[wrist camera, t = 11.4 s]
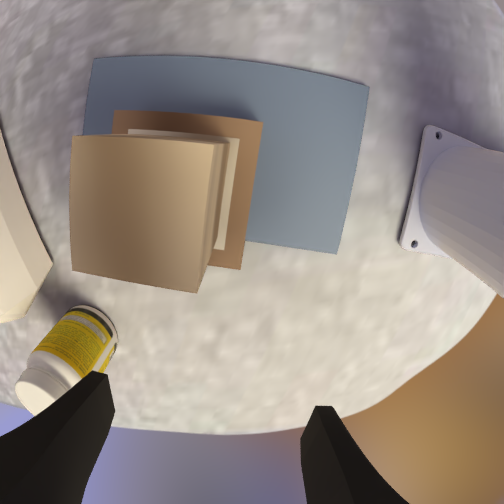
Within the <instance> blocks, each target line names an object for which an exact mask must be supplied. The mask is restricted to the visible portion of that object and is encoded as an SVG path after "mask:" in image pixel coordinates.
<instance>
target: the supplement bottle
mask: <svg viewBox="0 0 504 504" xmlns="http://www.w3.org/2000/svg"><path fill="white" fill-rule="evenodd" d="M117 345H118V337H117V333H116V331H115V328H114V326H113V325H112V323H111V322H110V320H109V319H108V318H107V317H106V316H105V315H104V314H103V313H101V312H100V311H98V310H97V309H95V308H92V307H89V306H84V305H80V306H75V307H73V308H71V309H70V310H69V311H68V312H67V313H66V314H65V315H64V316H63V317H62V318H61V319H60V320H59V322H58V323H57V324H56V325H55V326H54V327H53V329H52V330H51V331H50V332H49V333H48V334H47V335H46V337H45V338H44V339H43V340H42V341H41V342H40V344H39V345H38V346H37V347H36V348H35V349H34V351H33V352H32V353H31V354H30V356H29V358H28V361H27V369H26V370H25V371H23V373H22V375H21V376H20V378H19V379H18V381H17V382H16V385H15V391H16V394H17V396H18V398H19V400H20V401H21V403H22V404H23V405H24V406H25V407H26V408H27V410H28V411H30V412H31V413H32V414H33V415H34V416H36V415H37V414H39V413H40V412H41V411H43V410H44V409H46V408H47V407H48V406H50V405H51V404H52V403H53V402H55V401H56V400H57V399H58V398H60V397H61V396H62V395H63V394H65V393H66V392H67V391H68V390H69V389H71V388H72V387H73V386H74V385H75V384H76V383H78V382H79V381H80V380H81V379H82V378H83V377H85V376H86V375H87V374H88V373H89V372H91V371H92V370H93V371H97V372H100V373H103V372H104V370H105V369H106V367H107V365H108V363H109V362H110V360H111V358H112V356H113V354H114V352H115V351H116V349H117Z"/></svg>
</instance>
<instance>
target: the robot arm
mask: <svg viewBox="0 0 504 504" xmlns="http://www.w3.org/2000/svg"><path fill="white" fill-rule="evenodd" d="M436 132H438V134H439V138H438V139H437V138H436ZM414 240H415V244H414V245H413V246H411V243H412V241H414ZM399 244H400V246H401V248H403V249H404V250H408V251H413V252H418V253H424V254H429V255H434V256H440V257H445V258H450V259H454V260H455V261H457V262H458V263H460V264H461V265H462V266H464V267H465V268H466V269H467V270H469V271H470V272H471V273H473V274H474V275H475V276H477V277H478V278H479V279H480V280H482V281H483V282H484V283H485V284H487V285H488V286H489V287H490V288H492V289H493V290H494V291H495V292H497V293H498V294H499V295H500V296H501V297H503V298H504V152H501V151H495V150H488V149H486V148H484V147H482V146H480V145H477V144H475V143H473V142H471V141H469V140H467V139H464V138H462V137H460V136H458V135H455V134H453V133H451V132H448V131H446V130H443V129H441V128H439V127H436V126H433V125H427V126H426V127H425V128H424V130H423V136H422V142H421V148H420V154H419V159H418V164H417V169H416V174H415V179H414V184H413V188H412V193H411V197H410V201H409V205H408V209H407V213H406V217H405V221H404V225H403V229H402V233H401V236H400V240H399ZM114 413H115V408H114V403H113V399H112V394H111V389H110V384H109V379H108V375H107V374H104V373H100V372H97V371H93V370H92V371H91V372H89V373H88V374H87V375H86V376H85V377H83V378H82V379H81V380H80V381H79V382H78V383H76V384H75V385H74V386H73V387H72V388H71V389H69V390H68V391H67V392H66V393H65V394H63V395H62V396H61V397H60V398H58V399H57V400H56V401H55V402H53V403H52V404H51V405H50V406H48V407H47V408H46V409H44V410H43V411H41V412H40V413H39V414H37V415H36V416H34V417H33V418H32V419H30V420H29V421H27V422H26V423H24V424H22V425H21V426H19V427H17V428H16V429H14V430H12V431H10V432H9V433H6V434H4V435H3V436H1V437H0V504H81V502H82V498H83V495H84V491H85V488H86V485H87V482H88V479H89V477H90V475H91V472H92V470H93V468H94V465H95V463H96V461H97V458H98V456H99V454H100V452H101V449H102V447H103V445H104V442H105V440H106V438H107V436H108V433H109V430H110V427H111V424H112V420H113V417H114ZM301 466H302V473H303V480H304V486H305V493H306V499H307V504H409V503H408V502H407V501H406V500H404V499H403V498H402V497H401V496H400V495H399V494H398V493H397V492H396V491H395V490H394V489H393V488H392V487H391V486H390V485H389V484H388V483H387V482H386V481H385V480H384V479H383V477H382V476H381V475H380V474H379V473H378V472H377V470H376V469H375V468H374V467H373V465H372V464H371V463H370V462H369V460H368V459H367V458H366V457H365V455H364V454H363V452H362V451H361V449H360V448H359V447H358V445H357V444H356V442H355V441H354V439H353V438H352V437H351V435H350V433H349V432H348V430H347V429H346V427H345V425H344V424H343V422H342V421H341V419H340V417H339V416H338V414H337V413H336V411H335V409H334V408H333V407H332V406H315V408H314V410H313V413H312V415H311V417H310V419H309V421H308V424H307V426H306V428H305V430H304V432H303V435H302V437H301Z"/></svg>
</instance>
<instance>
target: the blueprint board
mask: <svg viewBox="0 0 504 504" xmlns="http://www.w3.org/2000/svg"><path fill="white" fill-rule="evenodd" d="M368 94H369V87H368V86H365V85H361V84H358V83H354V82H350V81H347V80H343V79H339V78H335V77H331V76H327V75H322V74H318V73H314V72H309V71H304V70H299V69H294V68H288V67H283V66H277V65H271V64H264V63H257V62H250V61H241V60H232V59H222V58H210V57H193V56H124V57H108V58H96V59H94V61H93V67H92V72H91V77H90V83H89V89H88V96H87V103H86V110H85V119H84V128H83V135H105V134H112V125H113V117H114V110H139V111H163V112H179V113H192V114H203V115H213V116H222V117H230V118H238V119H246V120H253V121H260V122H263V128H262V134H261V140H260V146H259V153H258V159H257V165H256V172H255V178H254V185H253V191H252V197H251V204H250V210H249V217H248V223H247V230H246V236H245V241H251V242H258V243H264V244H271V245H278V246H284V247H291V248H298V249H304V250H311V251H318V252H324V253H331V254H337V251H338V247H339V243H340V239H341V235H342V231H343V227H344V222H345V218H346V214H347V209H348V205H349V200H350V195H351V191H352V186H353V181H354V176H355V171H356V166H357V161H358V155H359V150H360V144H361V139H362V133H363V127H364V121H365V114H366V108H367V101H368Z"/></svg>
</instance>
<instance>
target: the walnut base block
mask: <svg viewBox="0 0 504 504" xmlns="http://www.w3.org/2000/svg"><path fill="white" fill-rule="evenodd" d="M262 128H263V122H260V121H253V120H246V119H238V118H230V117H222V116H213V115H203V114H192V113H179V112H163V111H139V110H114V117H113V125H112V134H144V135H159V136H171V137H183V138H193V139H202V140H211V141H220V142H227V143H230V149H229V156H228V162H227V169H226V176H225V184H224V191H223V198H222V206H221V213H220V221H219V229H218V237H217V240H216V243H215V246H214V248H213V251H212V254H211V256H210V259H209V262H208V265H211V266H217V267H224V268H231V269H238V270H241V263H242V256H243V250H244V243H245V236H246V230H247V223H248V217H249V210H250V204H251V197H252V191H253V185H254V178H255V172H256V165H257V159H258V153H259V146H260V140H261V134H262Z"/></svg>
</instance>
